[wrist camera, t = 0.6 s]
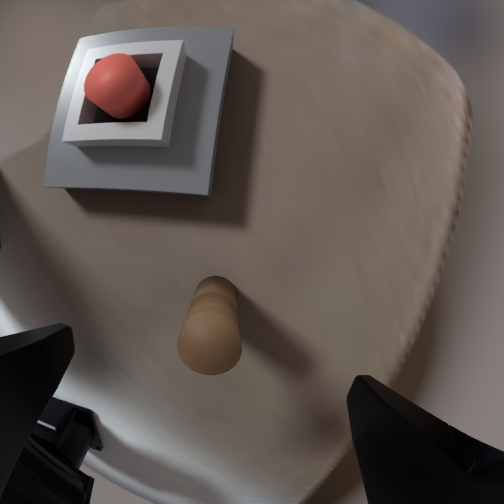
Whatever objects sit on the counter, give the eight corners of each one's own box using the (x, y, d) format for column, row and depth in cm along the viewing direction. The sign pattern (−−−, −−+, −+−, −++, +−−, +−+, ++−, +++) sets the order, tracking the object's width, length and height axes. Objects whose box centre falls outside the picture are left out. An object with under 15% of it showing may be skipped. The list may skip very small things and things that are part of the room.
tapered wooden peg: (234, 316, 21) (238, 377, 13) (194, 313, 20) (177, 371, 12) (238, 278, 20) (244, 322, 12) (196, 274, 20) (177, 315, 12)
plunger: (144, 118, 15) (129, 101, 12) (99, 119, 14) (77, 105, 11) (155, 72, 14) (142, 50, 11) (110, 75, 14) (92, 56, 11)
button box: (211, 196, 19) (204, 193, 14) (63, 188, 18) (26, 185, 13) (232, 48, 17) (234, 11, 12) (94, 53, 16) (69, 26, 11)
